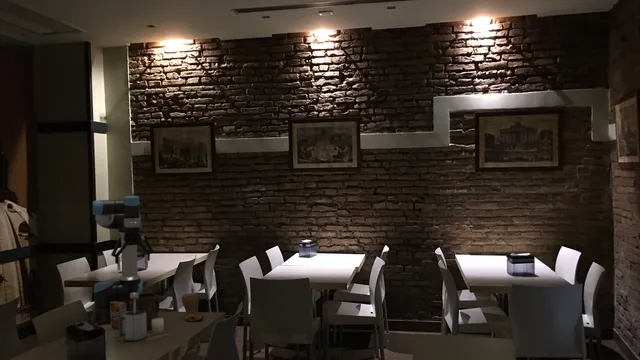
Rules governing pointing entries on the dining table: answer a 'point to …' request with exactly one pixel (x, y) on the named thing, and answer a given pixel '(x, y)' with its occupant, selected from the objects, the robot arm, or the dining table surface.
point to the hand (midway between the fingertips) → (132, 268)
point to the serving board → (149, 337)
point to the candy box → (117, 313)
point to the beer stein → (148, 307)
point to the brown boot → (191, 307)
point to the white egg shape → (157, 326)
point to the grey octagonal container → (133, 326)
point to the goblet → (134, 299)
